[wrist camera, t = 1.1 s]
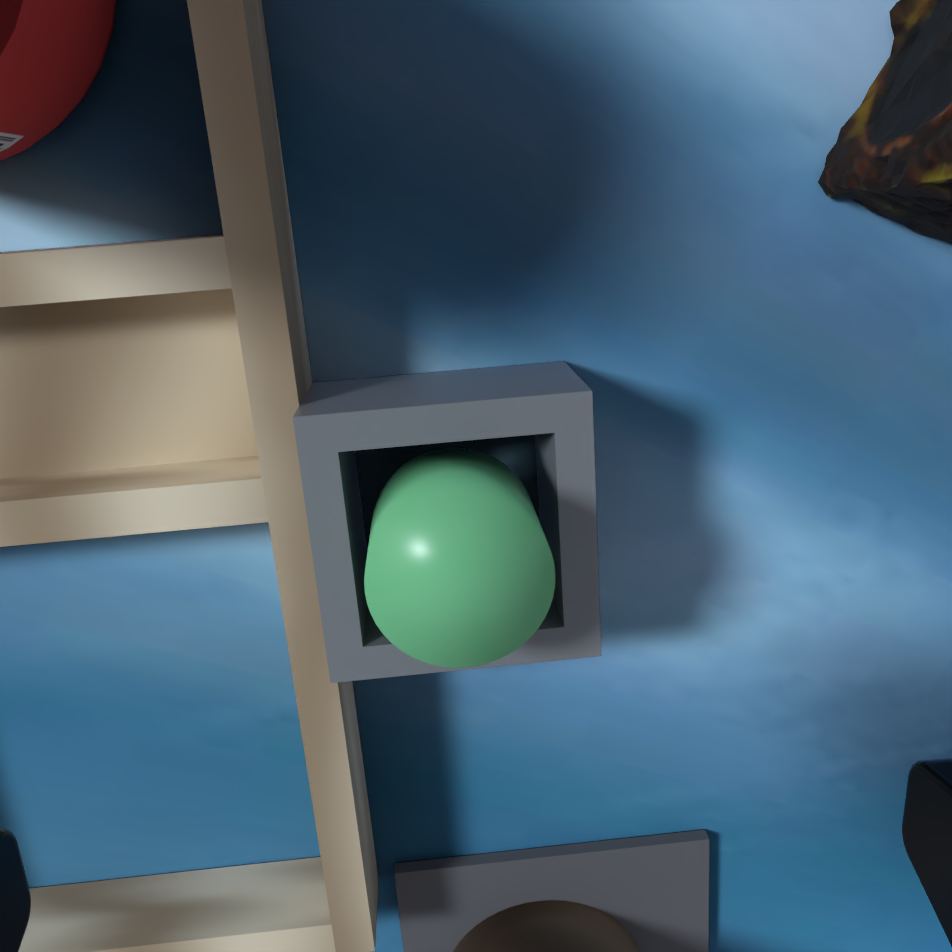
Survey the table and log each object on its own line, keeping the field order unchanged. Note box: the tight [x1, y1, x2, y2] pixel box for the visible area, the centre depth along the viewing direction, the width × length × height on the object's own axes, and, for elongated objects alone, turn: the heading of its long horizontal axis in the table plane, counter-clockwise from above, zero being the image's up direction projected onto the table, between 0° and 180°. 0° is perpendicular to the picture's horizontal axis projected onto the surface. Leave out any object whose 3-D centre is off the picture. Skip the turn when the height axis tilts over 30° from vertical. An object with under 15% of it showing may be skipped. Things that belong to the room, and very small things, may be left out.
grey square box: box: [293, 361, 602, 683], centre depth 20 cm, size 6×6×4 cm
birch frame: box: [0, 0, 379, 952], centre depth 19 cm, size 13×30×2 cm, turn 4°
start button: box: [364, 448, 555, 668], centre depth 18 cm, size 4×4×3 cm
